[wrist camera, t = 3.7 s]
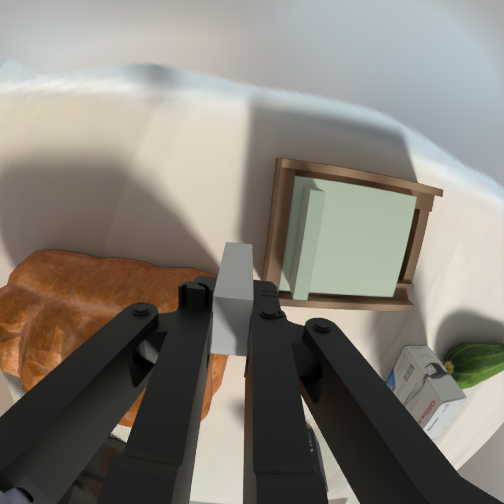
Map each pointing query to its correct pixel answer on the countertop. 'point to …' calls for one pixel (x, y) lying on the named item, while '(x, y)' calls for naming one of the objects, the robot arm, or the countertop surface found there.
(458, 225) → the countertop surface
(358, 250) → the lid
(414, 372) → the ink box
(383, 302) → the pencil box
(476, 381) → the vegetable
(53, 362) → the bread
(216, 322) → the robot arm
